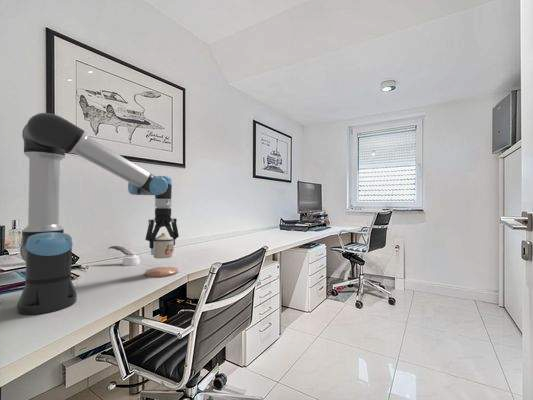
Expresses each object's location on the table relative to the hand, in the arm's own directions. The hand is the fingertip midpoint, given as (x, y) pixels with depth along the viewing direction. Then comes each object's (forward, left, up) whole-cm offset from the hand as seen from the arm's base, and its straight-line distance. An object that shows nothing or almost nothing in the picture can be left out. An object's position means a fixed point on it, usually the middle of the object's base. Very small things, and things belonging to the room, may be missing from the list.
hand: (162, 253), depth 129 cm
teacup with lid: (+1, 0, -2) cm, 2 cm away
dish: (0, 0, -9) cm, 9 cm away
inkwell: (-3, +34, -10) cm, 36 cm away
